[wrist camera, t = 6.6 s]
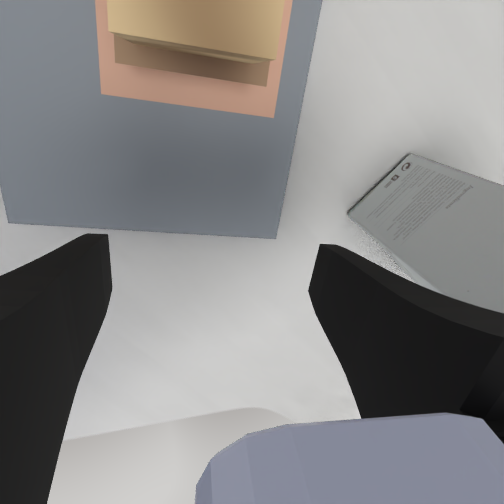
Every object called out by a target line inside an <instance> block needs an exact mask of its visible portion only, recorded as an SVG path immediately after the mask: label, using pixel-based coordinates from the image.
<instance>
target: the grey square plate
mask: <svg viewBox="0 0 504 504" xmlns="http://www.w3.org/2000/svg"><path fill="white" fill-rule="evenodd" d="M321 4H322V0H285V2H284V9H283V16H282V22H281V29H280V36H279V43H278V50H277V56H276V60H273V61H270V65H269V72H268V79H267V86H266V87H264V86H258V85H252V84H245V83H239V82H233V81H226V80H220V79H214V78H207V77H201V76H195V75H189V74H182V73H176V72H170V71H163V70H157V69H151V68H144V67H138V66H132V65H126V64H119V63H115V50H114V34H113V33H111V32H109V30H108V12H107V0H0V187H1V191H2V196H3V201H4V205H5V210H6V214H7V219H8V223H14V224H31V225H48V226H65V227H82V228H99V229H116V230H132V231H149V232H166V233H183V234H200V235H217V236H233V237H250V238H267V239H276V236H277V231H278V226H279V221H280V215H281V210H282V205H283V200H284V195H285V190H286V185H287V179H288V174H289V169H290V164H291V159H292V154H293V149H294V143H295V138H296V133H297V128H298V123H299V118H300V113H301V107H302V102H303V97H304V92H305V87H306V82H307V76H308V71H309V66H310V61H311V56H312V51H313V46H314V40H315V35H316V30H317V25H318V20H319V15H320V10H321Z"/></svg>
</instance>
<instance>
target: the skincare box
mask: <svg viewBox="0 0 504 504" xmlns="http://www.w3.org/2000/svg"><path fill="white" fill-rule="evenodd" d="M349 217H350V218H351V219H352V220H353V221H354V222H355V223H356V224H358V225H359V226H360V227H361V228H362V229H364V230H365V231H366V232H367V233H368V234H369V235H370V236H371V237H372V238H373V239H374V240H375V241H376V242H377V243H378V244H379V245H380V246H381V247H382V248H383V249H384V250H385V251H386V252H387V253H388V254H389V255H390V256H391V257H392V259H393V260H394V261H395V262H396V263H397V264H398V266H399V267H400V268H401V269H402V270H403V271H404V272H405V273H406V274H407V275H408V276H409V277H410V278H411V279H412V280H414V281H415V282H416V283H417V284H418V285H420V286H423V287H425V288H428V289H430V290H433V291H435V292H438V293H440V294H443V295H446V296H448V297H451V298H454V299H457V300H460V301H463V302H466V303H469V304H473V305H476V306H479V307H482V308H486V309H489V310H493V311H496V312H500V313H504V185H501V184H498V183H495V182H492V181H489V180H486V179H483V178H480V177H478V176H475V175H472V174H469V173H466V172H463V171H460V170H457V169H455V168H452V167H449V166H446V165H443V164H440V163H438V162H435V161H432V160H429V159H426V158H423V157H420V156H417V155H415V154H410V155H409V156H407V157H406V158H405V159H404V160H403V161H402V162H401V163H400V164H399V165H398V166H397V167H396V168H395V169H394V170H393V171H392V172H391V173H390V174H389V175H388V176H387V177H386V178H385V179H384V180H383V181H381V182H380V183H379V184H378V185H377V186H376V187H375V188H374V189H373V190H372V191H370V192H369V193H368V194H367V195H366V196H365V197H364V198H363V199H362V200H361V201H360V202H359V203H358V204H357V205H356V206H355V207H354V208H353V209H351V211H350V212H349Z"/></svg>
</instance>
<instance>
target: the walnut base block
mask: <svg viewBox="0 0 504 504" xmlns="http://www.w3.org/2000/svg"><path fill="white" fill-rule="evenodd" d="M114 50H115V63H119V64H126V65H132V66H138V67H144V68H151V69H157V70H163V71H170V72H176V73H182V74H189V75H195V76H201V77H207V78H214V79H220V80H226V81H233V82H239V83H245V84H252V85H258V86H264V87H266V86H267V79H268V72H269V65H270V61H266V62H260V63H253V64H250V63H243V62H237V61H231V60H225V59H219V58H213V57H207V56H201V55H195V54H189V53H183V52H177V51H171V50H165V49H159V48H153V47H147V46H141V45H135V44H133V43H131V42H129V41H127V40H125V39H123V38H121V37H119V36H117V35H115V34H114Z"/></svg>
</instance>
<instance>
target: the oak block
mask: <svg viewBox="0 0 504 504" xmlns="http://www.w3.org/2000/svg"><path fill="white" fill-rule="evenodd" d="M284 2H285V0H107V12H108V30H109V32H111V33H113V34H115V35H117V36H119V37H121V38H123V39H125V40H127V41H129V42H131V43H133V44H135V45H141V46H147V47H153V48H159V49H165V50H171V51H177V52H183V53H189V54H195V55H201V56H207V57H213V58H219V59H225V60H231V61H237V62H243V63H250V64H253V63H260V62H266V61H273V60H276V56H277V50H278V43H279V36H280V29H281V22H282V16H283V9H284Z"/></svg>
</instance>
